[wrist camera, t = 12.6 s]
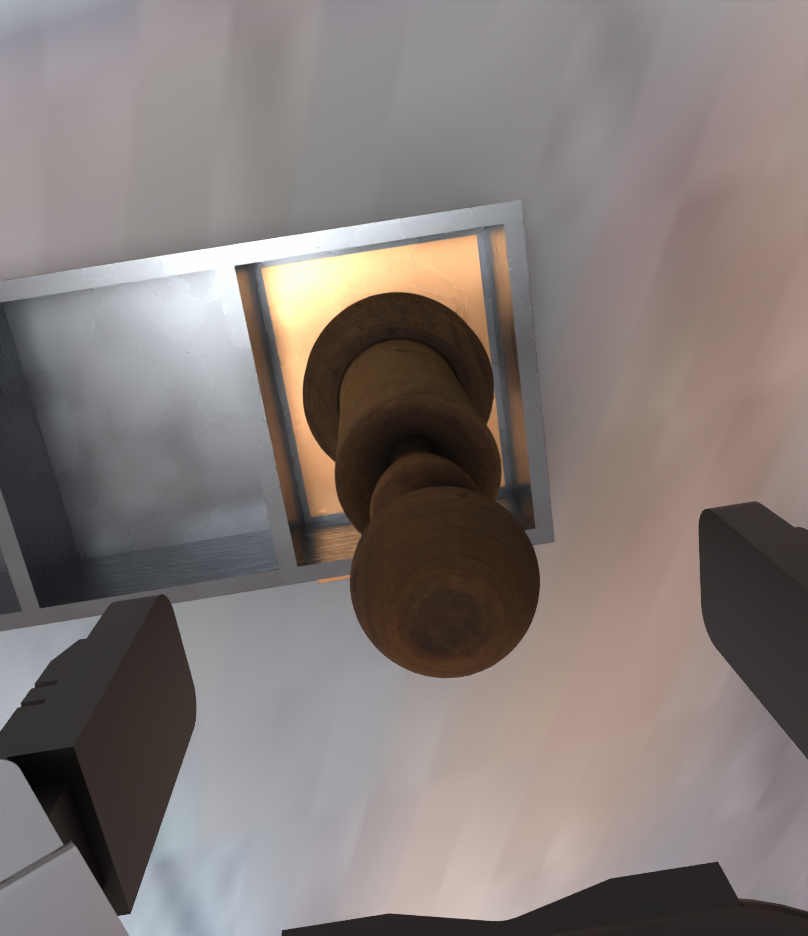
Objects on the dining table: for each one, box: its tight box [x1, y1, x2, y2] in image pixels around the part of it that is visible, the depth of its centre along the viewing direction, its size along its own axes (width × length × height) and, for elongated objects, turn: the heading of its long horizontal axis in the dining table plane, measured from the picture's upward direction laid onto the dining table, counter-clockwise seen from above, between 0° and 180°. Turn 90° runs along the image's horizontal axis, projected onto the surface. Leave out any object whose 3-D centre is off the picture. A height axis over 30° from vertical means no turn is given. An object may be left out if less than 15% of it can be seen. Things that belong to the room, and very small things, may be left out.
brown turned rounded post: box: [303, 292, 540, 678], centre depth 20 cm, size 7×6×18 cm
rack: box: [0, 200, 554, 631], centre depth 27 cm, size 27×12×5 cm, turn 99°
